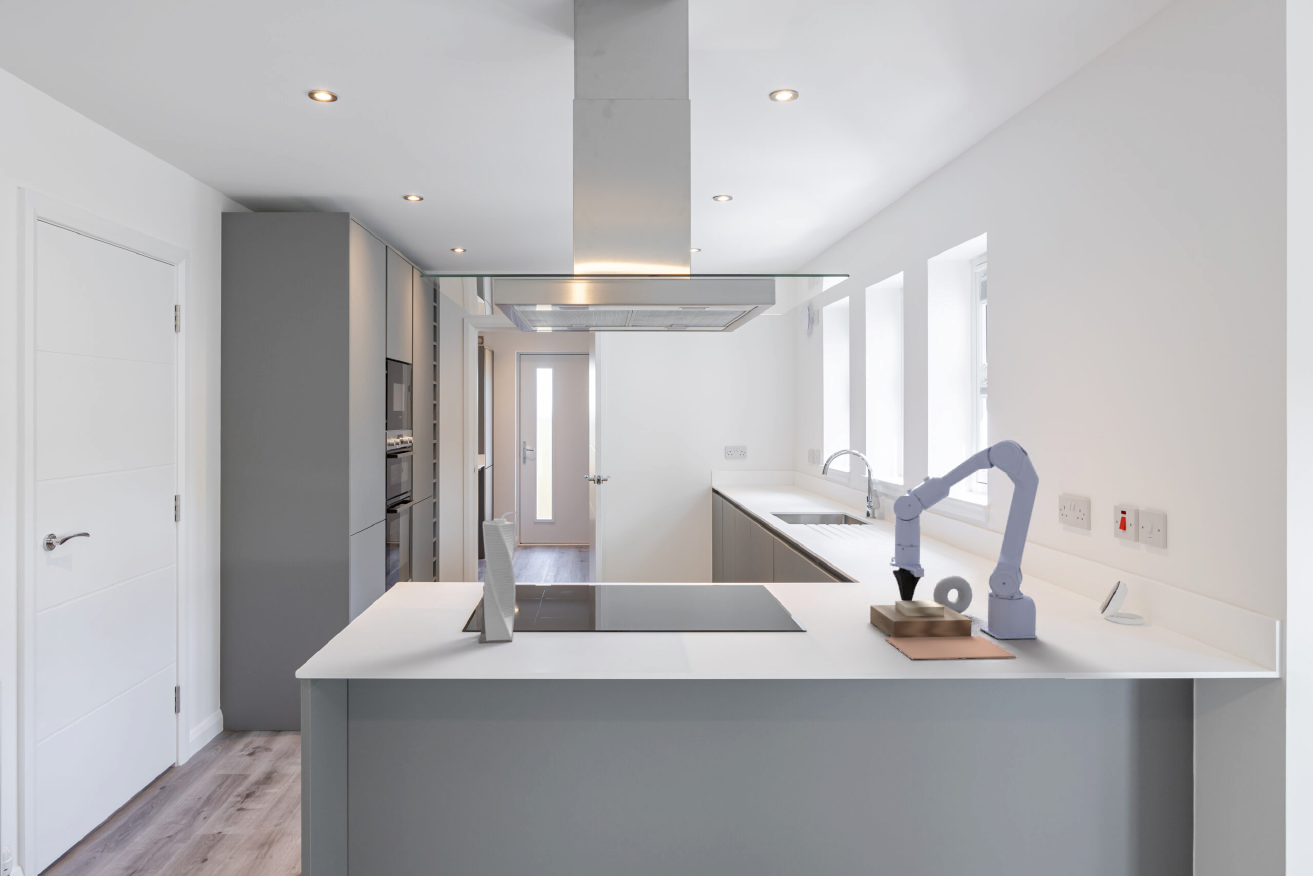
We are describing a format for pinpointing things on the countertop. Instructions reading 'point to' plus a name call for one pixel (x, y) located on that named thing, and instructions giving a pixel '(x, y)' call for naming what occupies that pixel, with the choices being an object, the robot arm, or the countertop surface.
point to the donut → (959, 585)
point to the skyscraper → (498, 581)
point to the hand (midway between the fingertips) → (906, 600)
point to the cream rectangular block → (919, 608)
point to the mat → (949, 647)
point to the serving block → (919, 623)
